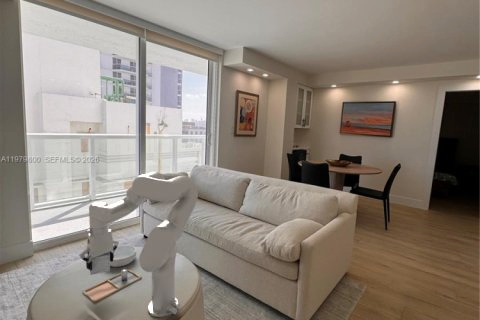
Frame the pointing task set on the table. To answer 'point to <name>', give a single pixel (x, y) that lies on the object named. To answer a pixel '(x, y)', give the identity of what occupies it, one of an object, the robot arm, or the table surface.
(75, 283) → the table surface
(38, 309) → the table surface
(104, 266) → the medicine box
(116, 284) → the board
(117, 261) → the cereal bowl
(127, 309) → the table surface
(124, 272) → the peg
